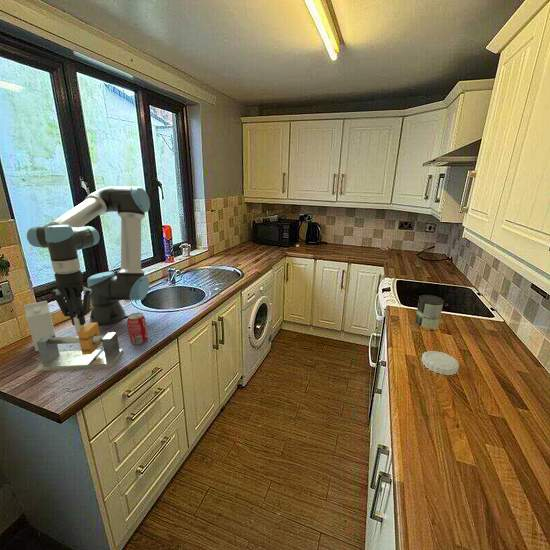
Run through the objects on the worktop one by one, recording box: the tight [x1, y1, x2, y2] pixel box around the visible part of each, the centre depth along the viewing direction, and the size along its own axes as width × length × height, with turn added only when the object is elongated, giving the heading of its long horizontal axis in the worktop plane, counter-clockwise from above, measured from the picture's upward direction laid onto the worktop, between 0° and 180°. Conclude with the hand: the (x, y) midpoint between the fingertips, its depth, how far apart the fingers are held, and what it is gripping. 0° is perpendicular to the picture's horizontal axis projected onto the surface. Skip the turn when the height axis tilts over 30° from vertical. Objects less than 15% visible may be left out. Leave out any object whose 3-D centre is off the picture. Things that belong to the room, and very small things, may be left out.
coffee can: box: [414, 294, 445, 329], centre depth 135 cm, size 10×10×14 cm
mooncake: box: [420, 350, 460, 376], centre depth 105 cm, size 12×12×4 cm
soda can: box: [126, 312, 149, 345], centre depth 119 cm, size 7×7×12 cm
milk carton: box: [23, 300, 59, 352], centre depth 115 cm, size 7×7×19 cm
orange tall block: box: [77, 322, 103, 355], centre depth 105 cm, size 3×8×9 cm, turn 6°
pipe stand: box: [37, 331, 124, 372], centre depth 106 cm, size 25×10×10 cm, turn 96°
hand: (81, 332), depth 104 cm, fingers closed
